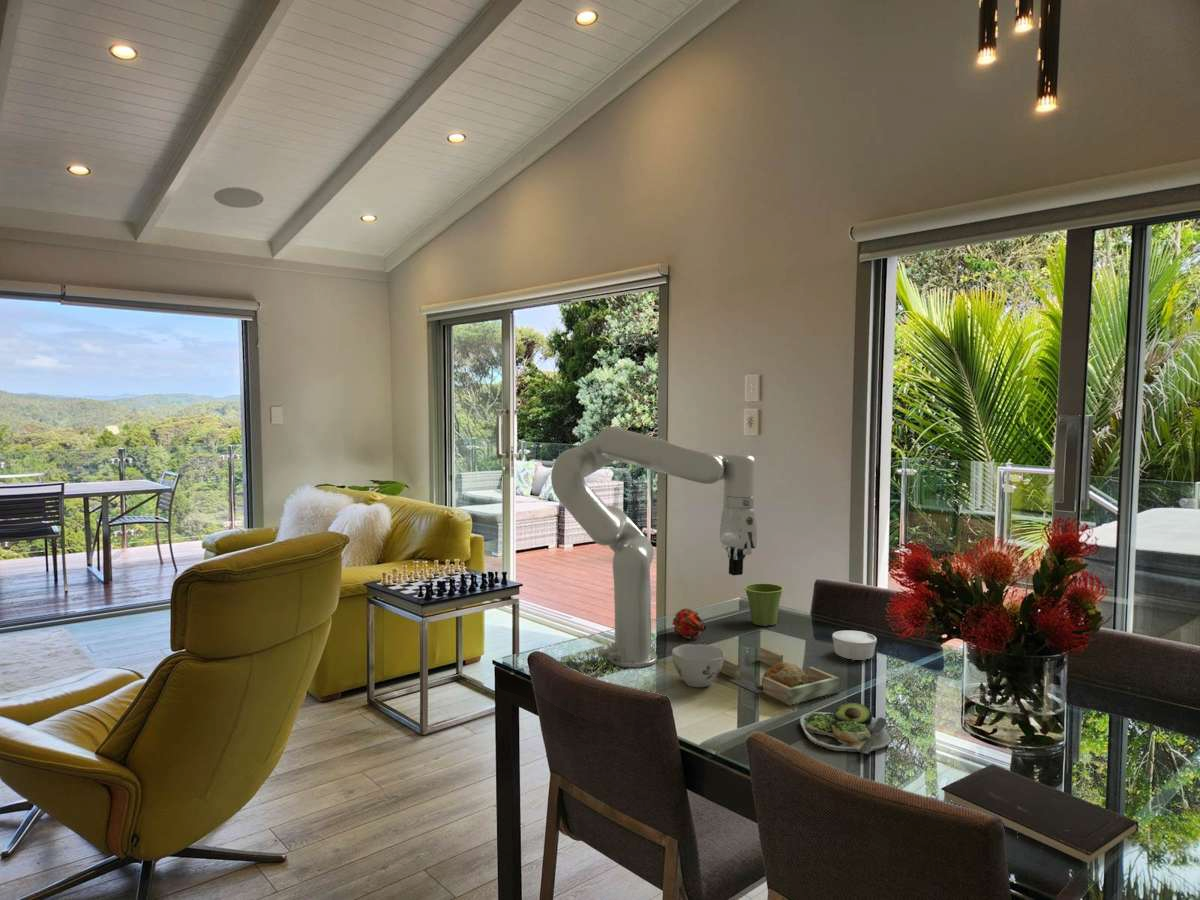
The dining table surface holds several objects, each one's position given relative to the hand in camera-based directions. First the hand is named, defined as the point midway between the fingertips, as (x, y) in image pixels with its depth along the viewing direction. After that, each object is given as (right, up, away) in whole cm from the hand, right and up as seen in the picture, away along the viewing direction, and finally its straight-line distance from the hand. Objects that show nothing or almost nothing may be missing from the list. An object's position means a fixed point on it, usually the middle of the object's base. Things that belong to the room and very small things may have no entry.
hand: (735, 574), depth 194 cm
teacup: (-12, -25, -10) cm, 29 cm away
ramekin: (+33, -23, +8) cm, 41 cm away
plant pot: (+15, -22, +38) cm, 47 cm away
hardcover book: (+36, -28, -71) cm, 84 cm away
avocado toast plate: (+15, -26, -40) cm, 50 cm away
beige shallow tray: (+7, -24, -10) cm, 27 cm away
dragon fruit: (-9, -23, +26) cm, 36 cm away
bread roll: (+9, -25, -15) cm, 31 cm away
